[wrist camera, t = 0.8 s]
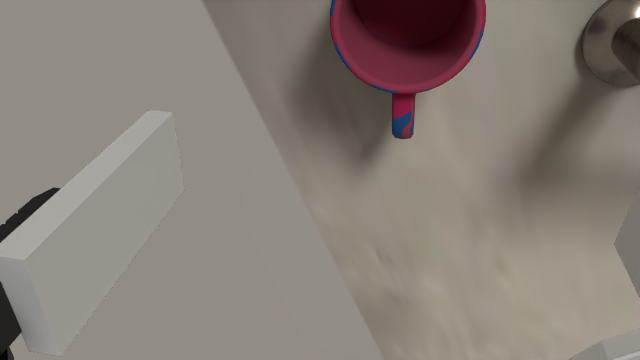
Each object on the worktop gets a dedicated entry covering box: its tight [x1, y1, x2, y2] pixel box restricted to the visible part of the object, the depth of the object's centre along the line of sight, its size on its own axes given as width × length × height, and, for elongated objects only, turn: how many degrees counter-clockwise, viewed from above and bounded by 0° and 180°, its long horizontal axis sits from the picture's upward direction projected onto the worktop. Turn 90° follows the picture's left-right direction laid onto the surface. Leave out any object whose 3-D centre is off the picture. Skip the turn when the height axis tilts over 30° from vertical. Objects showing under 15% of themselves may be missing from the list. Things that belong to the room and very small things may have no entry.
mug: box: [330, 0, 486, 139], centre depth 26 cm, size 7×10×7 cm
